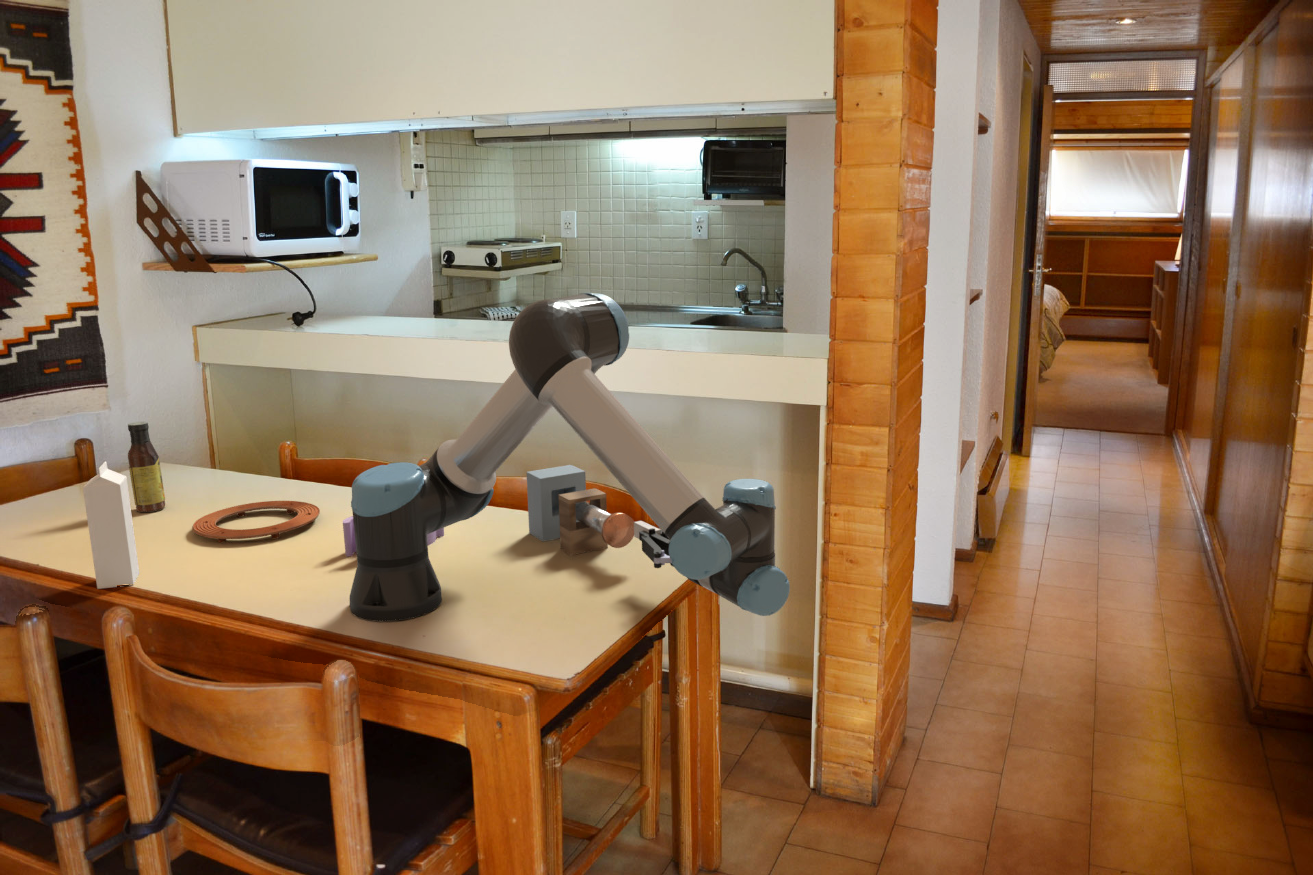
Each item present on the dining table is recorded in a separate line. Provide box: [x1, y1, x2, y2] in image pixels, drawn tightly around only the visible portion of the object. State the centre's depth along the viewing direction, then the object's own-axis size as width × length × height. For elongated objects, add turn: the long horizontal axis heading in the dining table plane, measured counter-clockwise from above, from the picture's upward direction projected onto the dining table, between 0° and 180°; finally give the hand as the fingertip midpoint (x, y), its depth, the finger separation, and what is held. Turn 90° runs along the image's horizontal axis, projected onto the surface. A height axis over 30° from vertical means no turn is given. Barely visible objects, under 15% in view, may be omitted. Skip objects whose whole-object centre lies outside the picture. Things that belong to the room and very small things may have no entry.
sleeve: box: [559, 488, 609, 556], centre depth 202 cm, size 8×4×11 cm, turn 121°
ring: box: [191, 500, 321, 544], centre depth 220 cm, size 25×25×2 cm
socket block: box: [526, 464, 587, 542], centre depth 211 cm, size 10×6×13 cm, turn 121°
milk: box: [82, 460, 140, 590], centre depth 187 cm, size 6×6×22 cm
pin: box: [575, 501, 635, 549], centre depth 196 cm, size 6×18×6 cm, turn 31°
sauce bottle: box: [127, 421, 166, 513], centre depth 232 cm, size 7×6×20 cm
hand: (637, 528), depth 183 cm, fingers closed
